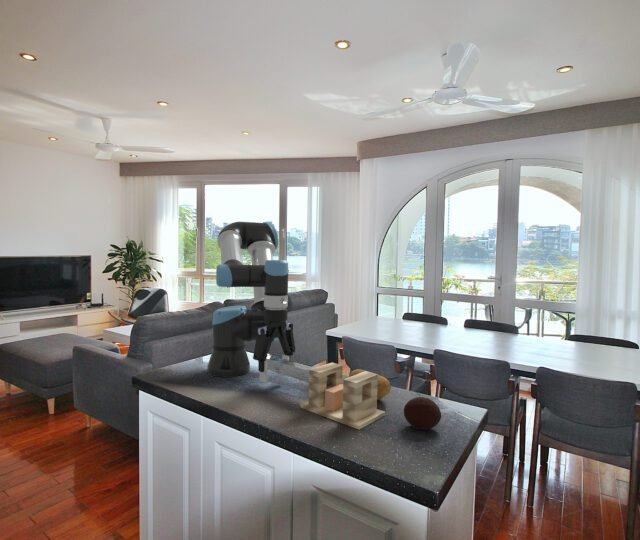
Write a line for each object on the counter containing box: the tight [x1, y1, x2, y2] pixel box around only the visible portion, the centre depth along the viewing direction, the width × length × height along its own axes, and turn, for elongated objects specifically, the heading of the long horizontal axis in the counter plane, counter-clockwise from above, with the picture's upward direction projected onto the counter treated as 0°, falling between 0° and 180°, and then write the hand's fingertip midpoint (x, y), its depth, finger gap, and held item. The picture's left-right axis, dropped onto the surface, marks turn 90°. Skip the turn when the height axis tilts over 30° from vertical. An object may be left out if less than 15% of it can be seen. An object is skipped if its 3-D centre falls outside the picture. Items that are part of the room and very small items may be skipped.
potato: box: [348, 368, 392, 401], centre depth 117 cm, size 10×14×8 cm
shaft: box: [265, 353, 330, 385], centre depth 119 cm, size 26×5×5 cm, turn 49°
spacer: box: [325, 383, 343, 411], centre depth 108 cm, size 5×7×3 cm
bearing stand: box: [300, 362, 386, 430], centre depth 107 cm, size 20×12×11 cm, turn 49°
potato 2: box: [403, 396, 442, 431], centre depth 98 cm, size 8×9×8 cm
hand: (274, 378), depth 125 cm, fingers open, 9 cm apart
